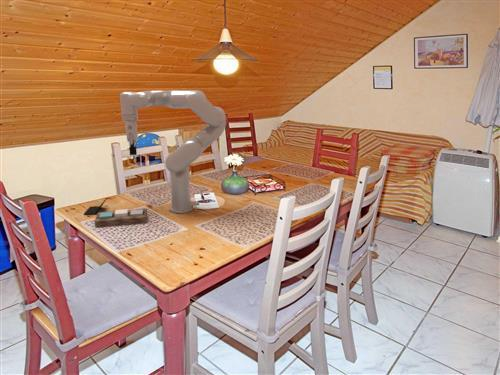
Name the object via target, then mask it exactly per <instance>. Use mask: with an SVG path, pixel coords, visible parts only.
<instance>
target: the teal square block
mask: <svg viewBox="0 0 500 375" xmlns="http://www.w3.org/2000/svg"><path fill="white" fill-rule="evenodd" d="M104 212H105V213H100V216H99V219H105V218H113V212H111V211H104Z"/></svg>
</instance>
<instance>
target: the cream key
mask: <svg viewBox="0 0 500 375" xmlns="http://www.w3.org/2000/svg"><path fill="white" fill-rule="evenodd" d="M128 210H129V209H128V208H125V209H123V208H122V209H115V210H114V211H115V218H116V217H126V216H127V217H128Z"/></svg>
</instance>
